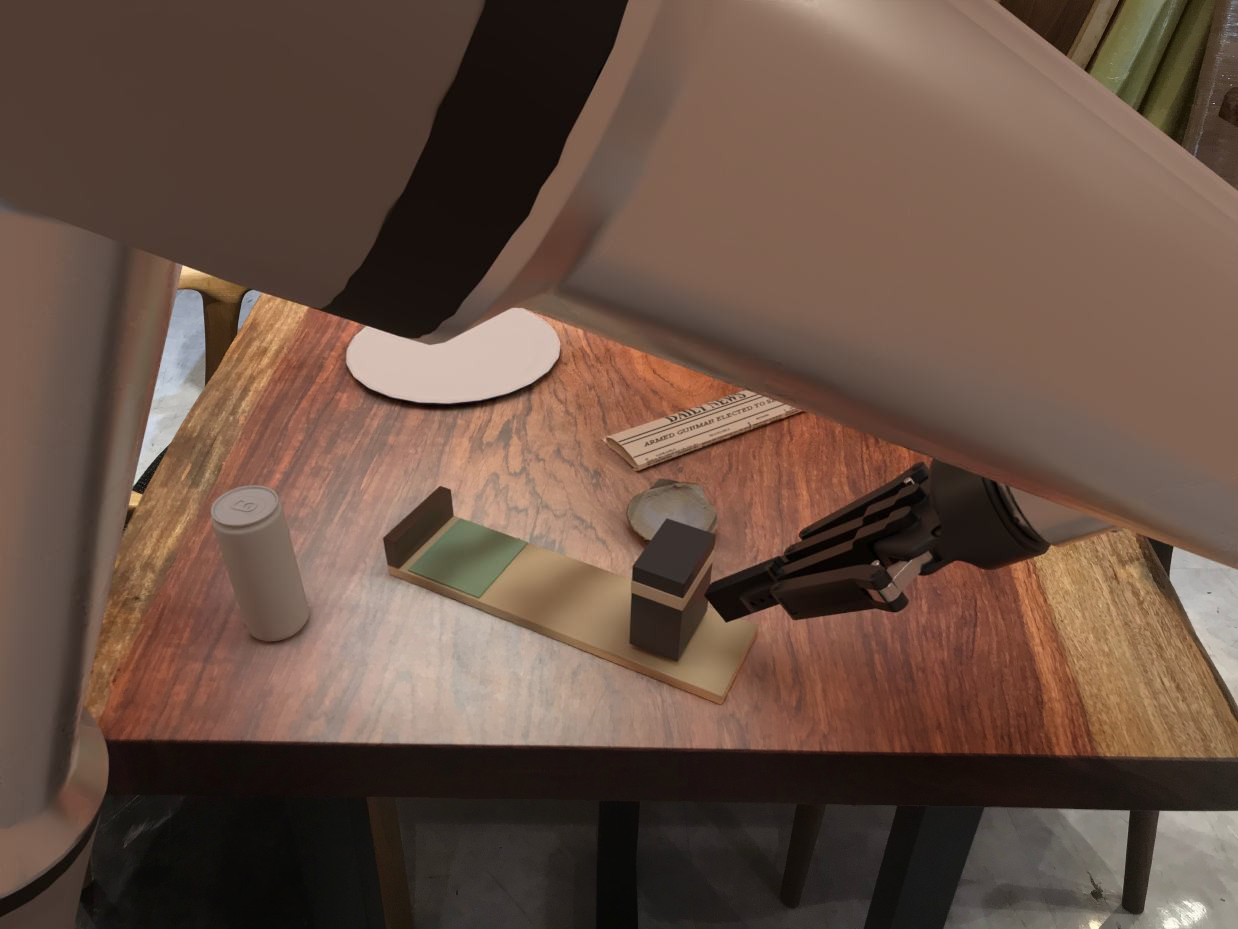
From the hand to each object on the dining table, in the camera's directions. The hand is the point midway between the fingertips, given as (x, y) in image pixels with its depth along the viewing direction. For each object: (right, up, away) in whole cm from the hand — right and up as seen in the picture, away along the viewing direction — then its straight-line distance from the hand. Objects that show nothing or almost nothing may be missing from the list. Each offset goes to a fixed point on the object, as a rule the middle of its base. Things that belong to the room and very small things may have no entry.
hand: (718, 602), depth 65 cm
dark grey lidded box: (-3, -2, +4) cm, 6 cm away
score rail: (-12, -1, +8) cm, 14 cm away
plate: (-27, +23, +41) cm, 54 cm away
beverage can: (-34, -3, +5) cm, 35 cm away
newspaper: (+3, +14, +30) cm, 34 cm away
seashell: (-2, +4, +16) cm, 17 cm away
